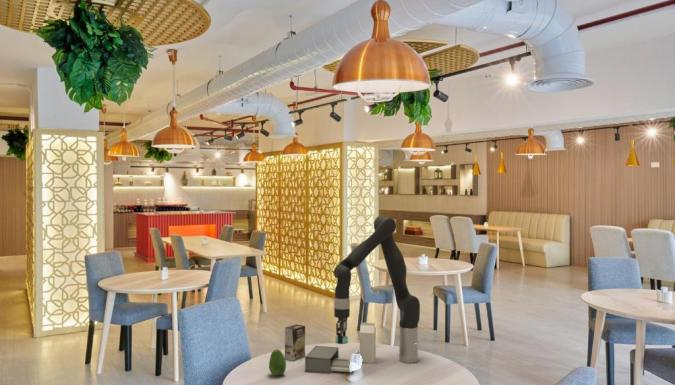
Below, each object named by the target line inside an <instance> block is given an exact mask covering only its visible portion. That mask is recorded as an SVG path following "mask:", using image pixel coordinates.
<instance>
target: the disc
mask: <svg viewBox="0 0 675 385" xmlns="http://www.w3.org/2000/svg"><path fill="white" fill-rule="evenodd" d="M348 343H349V337H348V336H347V335H346V336H343V343H342V344H341V345H345V344H348ZM335 344H338V336H337V335H336V336H335ZM338 345H339V344H338Z"/></svg>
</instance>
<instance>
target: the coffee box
mask: <svg viewBox="0 0 675 385" xmlns="http://www.w3.org/2000/svg"><path fill="white" fill-rule="evenodd" d="M305 357H306V326H305V325H303V324H294V325H293V324H292V325H290V326H286V327H284V359H285V360H286V361H287V360H288V361H292V362H295V361H297V360H300V359H303V358H305Z"/></svg>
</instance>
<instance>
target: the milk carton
mask: <svg viewBox="0 0 675 385" xmlns="http://www.w3.org/2000/svg"><path fill="white" fill-rule="evenodd" d="M376 337H377V332H376V323H374V322H360V328H359V356H360V355H361V356H362V359H363V362H362V363H368V364H374V363H375V360H376V356H377V354H376V353H377V352H376V351H377V350H376V348H377V346H376V342H377V340H376V339H377V338H376Z"/></svg>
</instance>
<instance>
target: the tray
mask: <svg viewBox="0 0 675 385" xmlns="http://www.w3.org/2000/svg"><path fill="white" fill-rule="evenodd" d="M353 354H359V355H360V349H356V350H355V351H354V352H353ZM351 358H352V356H351V357H350V358H342V357H341V358H340V357H339V358H334V359H333V360H332V362H331V363H330V370H331V372H332V371H333V372H344V373H349V372H350V371H349V365H350V361H351Z"/></svg>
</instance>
